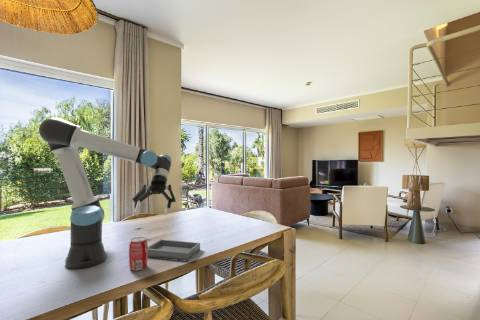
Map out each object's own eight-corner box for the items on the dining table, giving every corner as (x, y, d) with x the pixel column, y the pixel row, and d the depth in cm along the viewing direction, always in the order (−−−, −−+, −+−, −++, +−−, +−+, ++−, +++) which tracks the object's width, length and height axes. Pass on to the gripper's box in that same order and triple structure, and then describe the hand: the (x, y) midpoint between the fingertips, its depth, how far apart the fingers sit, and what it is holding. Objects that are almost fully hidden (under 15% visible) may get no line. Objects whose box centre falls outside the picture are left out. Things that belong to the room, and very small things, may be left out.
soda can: (142, 262, 105) (142, 235, 105) (150, 267, 100) (150, 238, 100) (125, 268, 99) (126, 239, 99) (134, 273, 95) (134, 243, 95)
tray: (144, 256, 111) (144, 248, 111) (160, 246, 125) (160, 239, 125) (187, 261, 106) (187, 253, 106) (200, 249, 120) (200, 242, 120)
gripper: (184, 183, 129) (178, 217, 114) (137, 183, 128) (125, 218, 114) (182, 174, 124) (176, 209, 109) (133, 174, 123) (120, 209, 108)
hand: (150, 213), depth 111 cm, fingers open, 13 cm apart
